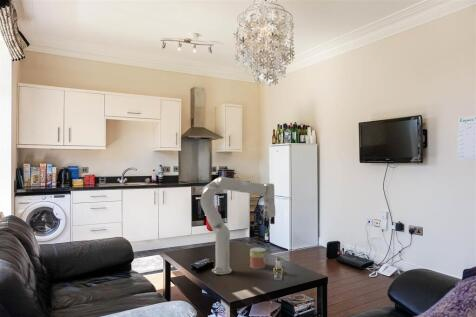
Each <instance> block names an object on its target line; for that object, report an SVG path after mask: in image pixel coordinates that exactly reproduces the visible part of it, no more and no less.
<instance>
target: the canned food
mask: <svg viewBox="0 0 476 317" xmlns="http://www.w3.org/2000/svg"><path fill="white" fill-rule="evenodd" d="M266 254H267V253H266V248H264V247H251V248H250V249H249V263H250V264H249V267H250V268H251V269H257V270H258V269H259V270H261V269H265V268H266V264H267V263H266V261H267V260H266V256H267V255H266Z"/></svg>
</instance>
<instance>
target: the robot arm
mask: <svg viewBox="0 0 476 317" xmlns="http://www.w3.org/2000/svg"><path fill="white" fill-rule="evenodd" d="M222 190H226V191H232V192H239V193H247V194H252V195H258V196H262V195H263V214H262V218H263V226H264V227H269V223H270V224H271V225H275V224H276V223H275V219H276V217H275V216H276V204H275V184H274V183H260V182H258V183H257V182H256V183H255V182H251V181H246V180H243V179H239V178H232V177H226V176H219V177H217V178H215V179H214V180H212V181H211V182H209V183H208V184H206V185H205V186H204V187H203V188H202V190H201V192H202V193H201V197H200V201H199V202H200V207H201V209H202V211H203V212H204V214H205V216H206V220H207V223H208V224H209V226H210V229H211V230H212V232H213V233H214V235H215V241H214V242H215V248H214V249H215V266H214V268H213V269H211V272H212V273H214V274H216V275H228V274H231V273H232V268H231V267H230V237H231V236H230V235H231V234H230V230H229V229H230V228H229V227H228V226H227V225H226V224H225V222H224V221H223V219H222V215H221V213H220V212H219V211H218V208H217V207H216V205H215V202H214V198H215V196H216V194H217V193H219V191H222ZM269 218H270V219H269ZM269 220H270V222H269Z"/></svg>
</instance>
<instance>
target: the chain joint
mask: <svg viewBox="0 0 476 317" xmlns="http://www.w3.org/2000/svg"><path fill="white" fill-rule="evenodd" d="M272 269H273V270H272V276H273V280H274V281H283V275H284V268H283V265H282V264H280V271H276V264H275V265H274V267H273V268H272Z"/></svg>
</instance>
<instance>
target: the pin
mask: <svg viewBox="0 0 476 317" xmlns="http://www.w3.org/2000/svg"><path fill="white" fill-rule="evenodd" d="M274 261H275V265H276V271H280V265H281V261H282V260H281V257H275V258H274Z"/></svg>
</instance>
